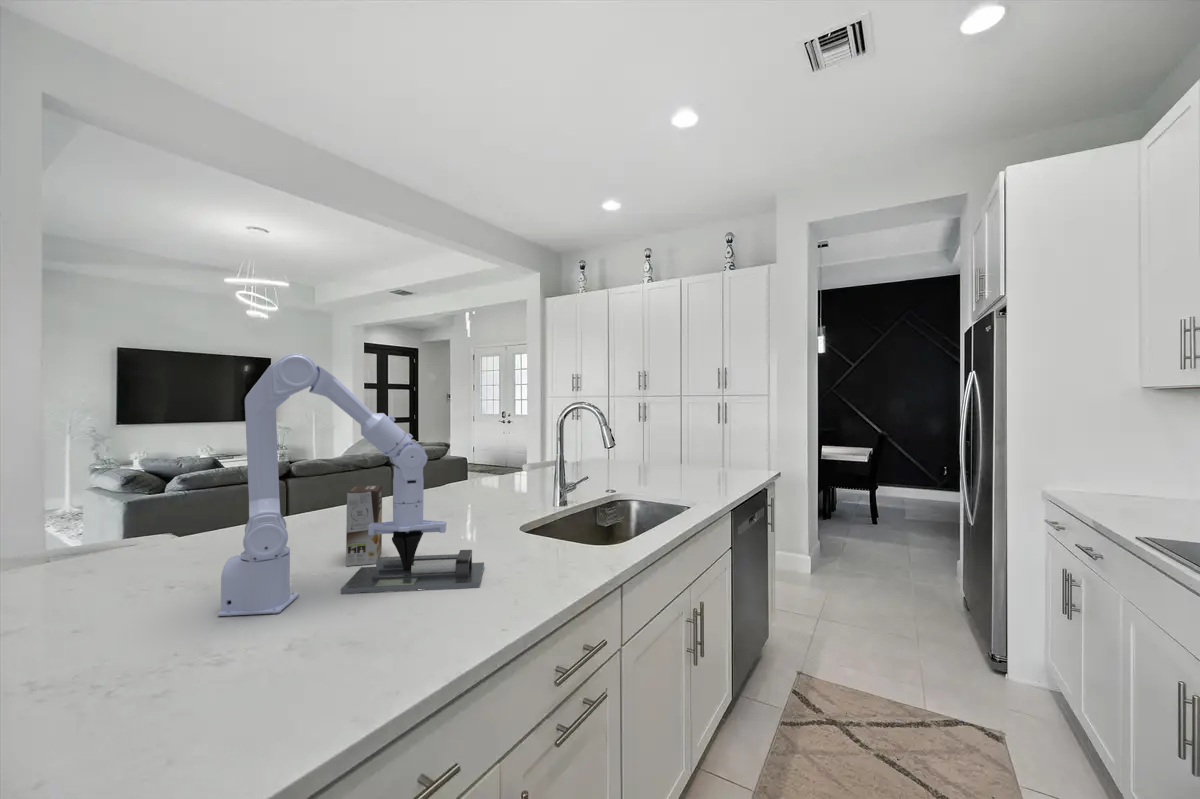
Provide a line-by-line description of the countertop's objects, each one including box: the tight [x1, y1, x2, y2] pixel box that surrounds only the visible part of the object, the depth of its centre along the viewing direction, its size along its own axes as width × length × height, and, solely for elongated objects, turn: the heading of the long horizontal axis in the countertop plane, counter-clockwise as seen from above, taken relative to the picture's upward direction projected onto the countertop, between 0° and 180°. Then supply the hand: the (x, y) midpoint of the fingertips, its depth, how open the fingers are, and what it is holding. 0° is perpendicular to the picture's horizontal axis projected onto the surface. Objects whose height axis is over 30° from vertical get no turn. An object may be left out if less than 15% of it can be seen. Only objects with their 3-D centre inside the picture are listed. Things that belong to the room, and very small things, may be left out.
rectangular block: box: [411, 559, 456, 575], centre depth 102 cm, size 10×3×2 cm, turn 98°
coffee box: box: [345, 484, 383, 567], centre depth 114 cm, size 9×6×16 cm
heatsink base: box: [340, 549, 485, 595], centre depth 102 cm, size 25×12×5 cm, turn 98°
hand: (407, 569), depth 101 cm, fingers closed
